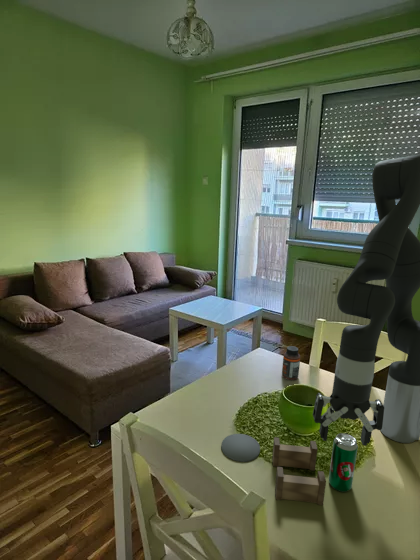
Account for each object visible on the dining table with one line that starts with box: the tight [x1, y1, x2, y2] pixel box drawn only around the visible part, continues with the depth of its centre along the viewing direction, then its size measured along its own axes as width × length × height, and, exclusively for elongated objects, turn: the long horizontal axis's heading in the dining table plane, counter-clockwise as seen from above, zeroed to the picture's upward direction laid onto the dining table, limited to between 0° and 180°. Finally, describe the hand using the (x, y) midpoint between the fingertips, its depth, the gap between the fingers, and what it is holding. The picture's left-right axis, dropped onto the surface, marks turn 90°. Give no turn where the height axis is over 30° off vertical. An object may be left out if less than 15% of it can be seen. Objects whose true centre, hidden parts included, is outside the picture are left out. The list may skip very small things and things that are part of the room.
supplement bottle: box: [281, 345, 301, 381], centre depth 131 cm, size 6×6×11 cm
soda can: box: [328, 432, 359, 493], centre depth 82 cm, size 5×5×12 cm
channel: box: [271, 436, 327, 506], centre depth 83 cm, size 10×13×6 cm
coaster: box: [221, 433, 261, 463], centre depth 94 cm, size 10×10×1 cm
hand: (343, 440), depth 81 cm, fingers open, 8 cm apart
